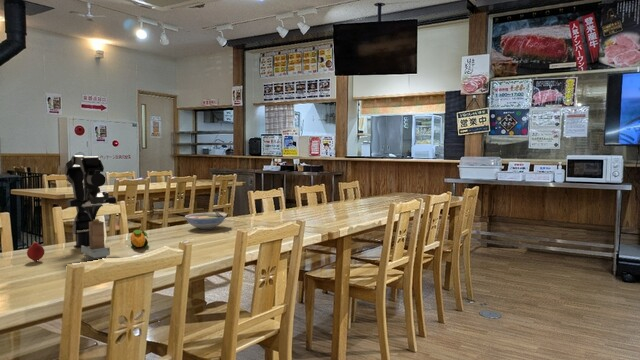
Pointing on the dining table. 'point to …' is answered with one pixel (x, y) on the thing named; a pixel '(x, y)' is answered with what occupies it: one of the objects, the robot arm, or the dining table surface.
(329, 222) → the dining table surface
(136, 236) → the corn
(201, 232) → the dining table surface
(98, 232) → the brown rectangular block
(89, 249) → the grey piece
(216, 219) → the ramen bowl
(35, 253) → the red oval piece
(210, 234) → the dining table surface
